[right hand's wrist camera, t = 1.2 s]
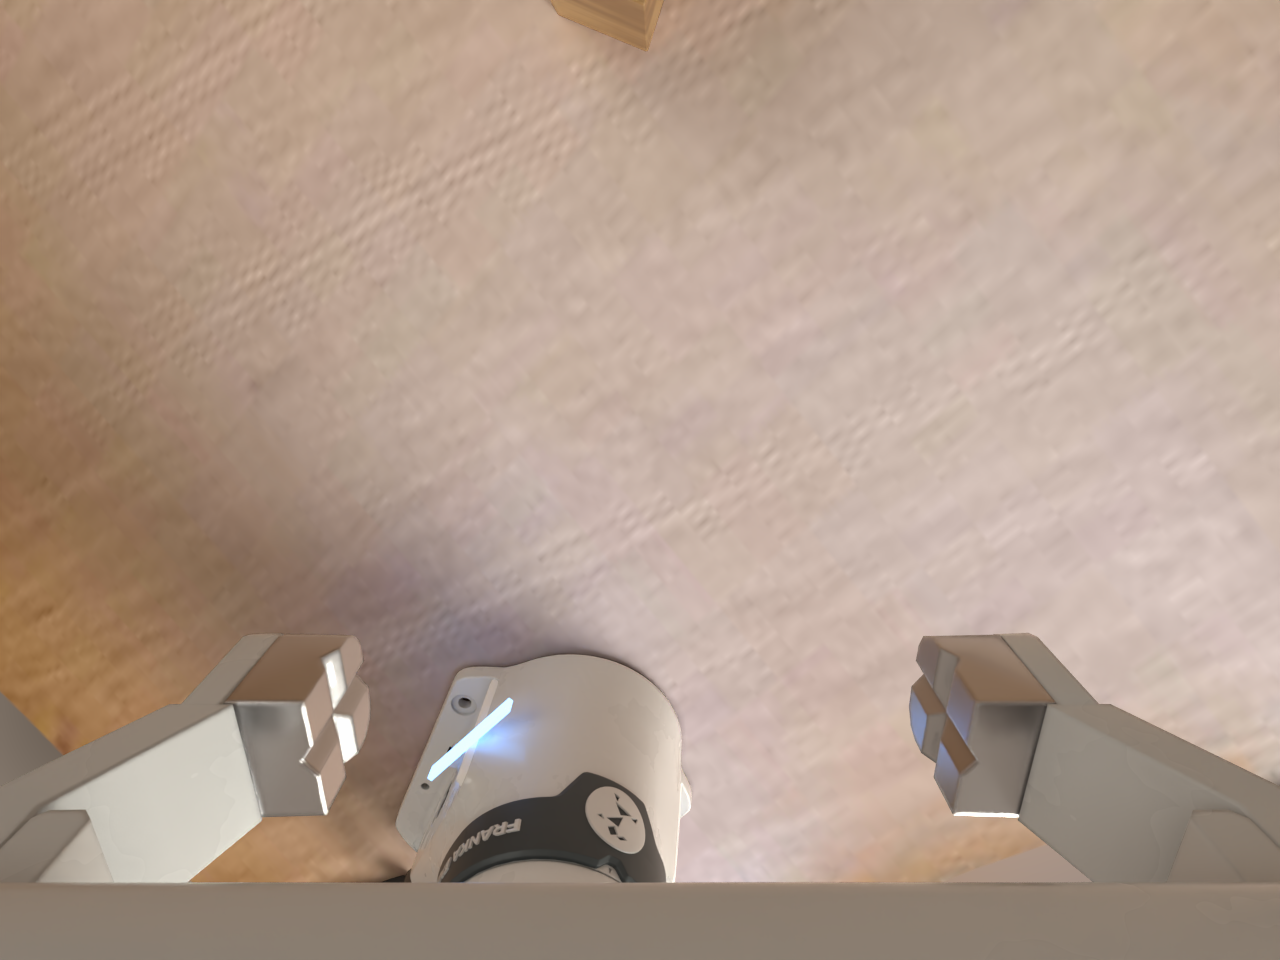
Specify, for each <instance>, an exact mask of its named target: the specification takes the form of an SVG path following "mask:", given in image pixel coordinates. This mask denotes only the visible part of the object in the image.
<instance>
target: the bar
mask: <svg viewBox="0 0 1280 960" xmlns="http://www.w3.org/2000/svg"><path fill="white" fill-rule="evenodd" d="M550 1H551V3H552V5H553V6H554V8H555V10H556V12H557V14H558V15H560V16H562V17H565V18H567V19H569V20H572V21H574V22H577V23H579V24H582V25H584V26H586V27H589V28H591V29H594V30H596V31H598V32H601V33H603V34H606V35H608V36H610V37H613V38H615V39H618V40H620V41H622V42H625V43H627V44H630V45H632V46H634V47H637V48H639V49H642V50H644V51H648V49H649V45H650V42H651V39H652V36H653V33H654V30H655V27H656V24H657V20H658V17H659V14H660V11H661V8H662V5H663V2H664V0H550Z"/></svg>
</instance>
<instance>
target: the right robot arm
mask: <svg viewBox="0 0 1280 960" xmlns="http://www.w3.org/2000/svg"><path fill="white" fill-rule="evenodd" d="M363 661H364V658H363V653H362V648H361V644H360V641H359V640H358V639H357V638H356V637H355V636H354V635H325V634H282V633H272V634H250V635H246V636H243V637H242V638H241V639H240V640H239V641H238V643H237V644H236V645H235V646H234V647H233V648H232V649H231V650H230V651H229V652H228V653H227V655H226V656H225V657H224V658H223V659H222V660H221V661H220V662H219V663H218V664H217V665H216V667H215V668H214V669H213V670H212V671H211V672H210V673H209V674H208V675H207V676H206V677H205V679H204V680H203V681H202V682H201V683H200V684H199V685H198V686H197V687H196V688H195V689H194V690H193V692H192V693H191V694H190V695H189V696H188V697H187V698H186V699H185V700H184V701H183V702H182V704H169V705H167V706H165V707H163V708H161V709H159V710H157V711H154V712H152V713H150V714H148V715H146V716H144V717H142V718H140V719H138V720H136V721H134V722H132V723H130V724H128V725H126V726H123V727H121V728H119V729H117V730H115V731H113V732H111V733H109V734H107V735H105V736H103V737H101V738H99V739H97V740H95V741H93V742H90V743H88V744H86V745H84V746H82V747H80V748H78V749H76V750H74V751H72V752H70V753H68V754H66V755H64V756H62V757H60V758H57V759H55V760H53V761H51V762H49V763H47V764H45V765H43V766H41V767H39V768H37V769H35V770H33V771H31V772H29V773H26V774H24V775H22V776H20V777H18V778H16V779H14V780H12V781H10V782H8V783H6V784H4V785H2V786H0V960H1280V786H1278V785H1276V784H1274V783H1272V782H1270V781H1268V780H1265V779H1263V778H1261V777H1259V776H1257V775H1255V774H1253V773H1251V772H1249V771H1247V770H1245V769H1243V768H1241V767H1239V766H1237V765H1235V764H1233V763H1230V762H1228V761H1226V760H1224V759H1222V758H1220V757H1218V756H1216V755H1214V754H1212V753H1210V752H1208V751H1206V750H1204V749H1202V748H1200V747H1198V746H1195V745H1193V744H1191V743H1189V742H1187V741H1185V740H1183V739H1181V738H1179V737H1177V736H1175V735H1173V734H1171V733H1169V732H1167V731H1165V730H1163V729H1160V728H1158V727H1156V726H1154V725H1152V724H1150V723H1148V722H1146V721H1144V720H1142V719H1140V718H1138V717H1136V716H1134V715H1132V714H1130V713H1128V712H1126V711H1123V710H1121V709H1119V708H1117V707H1115V706H1113V705H1111V704H1098V703H1097V701H1096V700H1095V699H1094V698H1093V697H1092V696H1091V695H1090V694H1089V693H1088V692H1087V691H1086V689H1085V688H1084V687H1083V686H1082V685H1081V684H1080V683H1079V682H1078V681H1077V680H1076V679H1075V677H1074V676H1073V675H1072V674H1071V673H1070V672H1069V671H1068V670H1067V669H1066V668H1065V667H1064V665H1063V664H1062V663H1061V662H1060V661H1059V660H1058V659H1057V658H1056V657H1055V656H1054V654H1053V653H1052V652H1051V651H1050V650H1049V649H1048V648H1047V647H1046V646H1045V645H1044V644H1043V642H1042V641H1041V640H1040V639H1039V638H1038V637H1036V636H1034V635H1032V634H1030V633H1015V634H993V635H956V636H923V638H922V640H921V642H920V644H919V647H918V652H917V658H916V661H917V663H918V665H919V667H920V668H921V670H922V672H923V673H924V674H923V675H922V676H921V677H920V678H919V679H918V680H917V681H916V682H915V683H914V684H913V685H912V687H911V695H910V703H909V711H910V723H911V728H912V731H913V735H914V738H915V741H916V743H917V745H918V747H919V749H920V751H921V753H922V754H924V755H925V756H926V757H928V758H929V759H931V760H932V761H934V762H935V763H936V767H935V772H934V779H935V781H936V783H937V785H938V786H939V788H940V790H941V792H942V794H943V796H944V798H945V800H946V802H947V804H948V806H949V808H950V810H951V812H952V813H953V815H961V816H997V817H1018V821H1020V822H1021V823H1022V824H1023V825H1024V826H1026V827H1027V828H1028V829H1029V830H1031V831H1032V832H1033V833H1034V834H1035V835H1037V836H1038V837H1039V838H1040V839H1041V840H1043V841H1044V842H1045V843H1046V844H1047V845H1049V846H1050V847H1051V848H1052V849H1054V850H1055V851H1056V852H1057V853H1058V854H1060V855H1061V856H1062V857H1063V858H1064V859H1066V860H1067V861H1068V862H1069V863H1071V864H1072V865H1073V866H1074V867H1075V868H1077V869H1078V870H1079V871H1080V872H1081V873H1083V874H1084V875H1085V876H1086V877H1087V878H1089V879H1090V880H1091V881H1092V882H1082V883H863V882H705V883H674V882H675V876H676V864H677V850H678V837H679V821H680V818H681V817H683V816H684V815H685V814H686V813H688V811H689V810H690V808H691V800H692V791H691V787H690V785H689V782H688V780H687V778H686V776H685V774H684V772H683V770H682V767H681V751H682V735H681V729H680V725H679V721H678V718H677V716H676V714H675V711H674V710H673V708H672V706H671V704H670V703H669V701H668V700H667V698H666V697H665V696H664V695H663V693H662V692H661V691H660V690H659V689H658V688H657V687H656V686H655V685H654V684H653V683H651V682H650V681H649V680H648V679H646V678H645V677H644V676H642V675H641V674H639V673H637V672H636V671H634V670H632V669H630V668H628V667H626V666H624V665H622V664H619V663H617V662H614V661H611V660H608V659H604V658H600V657H595V656H588V655H578V654H562V655H552V656H546V657H541V658H537V659H533V660H530V661H527V662H524V663H521V664H518V665H514V666H510V667H486V666H476V667H468V668H464V669H462V670H460V671H459V672H458V673H457V674H456V676H455V678H454V680H453V682H452V685H451V687H450V689H449V692H448V694H447V697H446V699H445V701H444V704H443V706H442V708H441V711H440V713H439V716H438V718H437V720H436V723H435V725H434V728H433V730H432V732H431V735H430V737H429V739H428V742H427V744H426V747H425V749H424V751H423V754H422V756H421V758H420V761H419V763H418V766H417V768H416V770H415V773H414V775H413V777H412V780H411V782H410V785H409V787H408V789H407V792H406V794H405V796H404V799H403V801H402V804H401V806H400V809H399V812H398V815H397V819H396V824H395V825H396V828H397V830H398V832H399V833H400V834H401V836H402V837H403V839H404V840H405V841H406V842H407V843H408V844H409V845H410V846H411V847H412V848H413V849H414V850H415V851H416V852H417V854H416V857H415V860H414V863H413V866H412V868H411V869H410V870H409V871H408V872H407V875H406V876H399V877H396V878H392V879H389V880H386V881H384V882H381V883H187V882H188V881H189V880H190V879H192V878H193V877H194V876H195V875H196V874H198V873H199V872H200V871H201V870H202V869H204V868H205V867H206V866H207V865H209V864H210V863H211V862H212V861H213V860H215V859H216V858H217V857H218V856H219V855H221V854H222V853H223V852H224V851H226V850H227V849H228V848H229V847H230V846H232V845H233V844H234V843H235V842H236V841H238V840H239V839H240V838H241V837H243V836H244V835H245V834H246V833H247V832H249V831H250V830H251V829H252V828H253V827H255V826H256V825H257V824H258V823H260V822H261V821H262V818H261V817H282V816H317V815H327V814H328V812H329V810H330V808H331V806H332V804H333V802H334V800H335V798H336V796H337V794H338V792H339V790H340V788H341V786H342V785H343V783H344V781H345V779H346V772H345V767H344V763H345V762H346V761H348V760H349V759H351V758H352V757H354V756H355V755H356V754H358V753H359V751H360V749H361V747H362V745H363V743H364V741H365V739H366V735H367V731H368V726H369V722H370V712H371V700H370V694H369V687H368V685H367V684H366V683H365V682H364V681H363V680H362V679H361V678H360V677H359V676H358V675H357V674H356V673H357V672H358V670H359V668H360V667H361V665H362V663H363ZM462 698H468V699H469V700H470V701H465V700H463V699H462Z"/></svg>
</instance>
